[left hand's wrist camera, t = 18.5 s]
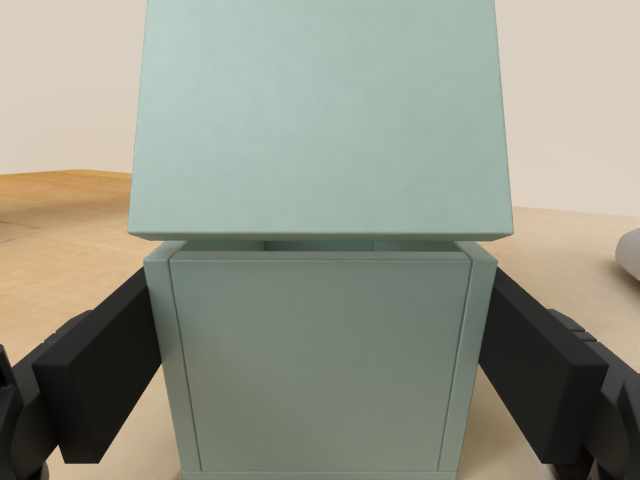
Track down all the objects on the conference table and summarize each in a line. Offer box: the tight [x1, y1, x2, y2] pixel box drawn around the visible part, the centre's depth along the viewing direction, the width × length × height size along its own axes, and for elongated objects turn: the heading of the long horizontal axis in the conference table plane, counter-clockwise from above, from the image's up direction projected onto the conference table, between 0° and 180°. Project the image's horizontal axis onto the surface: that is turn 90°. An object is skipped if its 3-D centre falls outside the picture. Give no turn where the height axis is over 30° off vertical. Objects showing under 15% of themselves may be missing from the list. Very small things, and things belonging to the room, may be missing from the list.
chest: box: [143, 241, 498, 480], centre depth 20 cm, size 17×10×9 cm, turn 0°
